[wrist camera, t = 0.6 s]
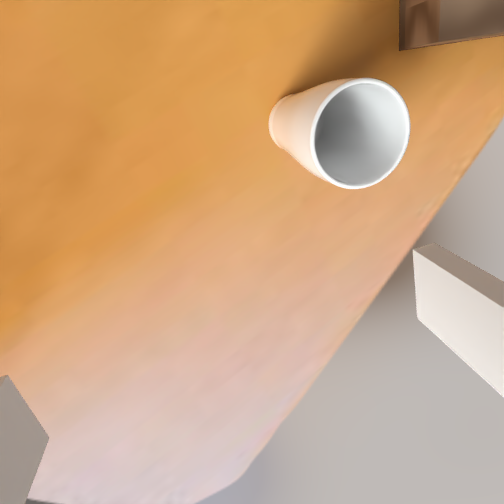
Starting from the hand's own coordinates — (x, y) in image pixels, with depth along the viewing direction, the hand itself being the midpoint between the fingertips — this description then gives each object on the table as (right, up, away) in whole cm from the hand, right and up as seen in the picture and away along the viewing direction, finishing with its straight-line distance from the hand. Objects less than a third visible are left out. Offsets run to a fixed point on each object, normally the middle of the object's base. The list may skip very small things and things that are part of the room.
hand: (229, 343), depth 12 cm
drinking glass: (+5, +16, +25) cm, 30 cm away
